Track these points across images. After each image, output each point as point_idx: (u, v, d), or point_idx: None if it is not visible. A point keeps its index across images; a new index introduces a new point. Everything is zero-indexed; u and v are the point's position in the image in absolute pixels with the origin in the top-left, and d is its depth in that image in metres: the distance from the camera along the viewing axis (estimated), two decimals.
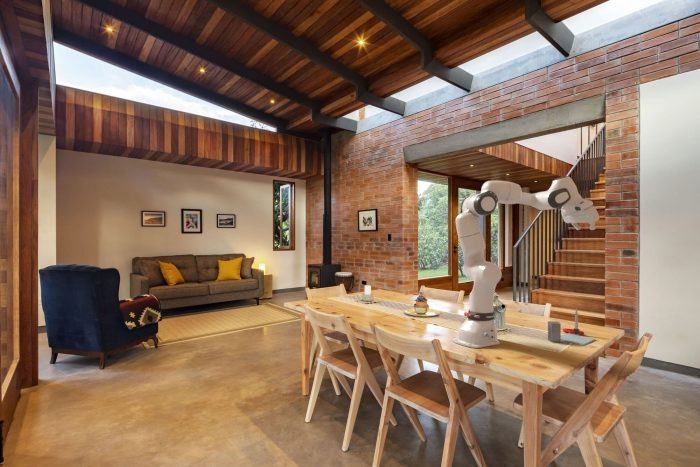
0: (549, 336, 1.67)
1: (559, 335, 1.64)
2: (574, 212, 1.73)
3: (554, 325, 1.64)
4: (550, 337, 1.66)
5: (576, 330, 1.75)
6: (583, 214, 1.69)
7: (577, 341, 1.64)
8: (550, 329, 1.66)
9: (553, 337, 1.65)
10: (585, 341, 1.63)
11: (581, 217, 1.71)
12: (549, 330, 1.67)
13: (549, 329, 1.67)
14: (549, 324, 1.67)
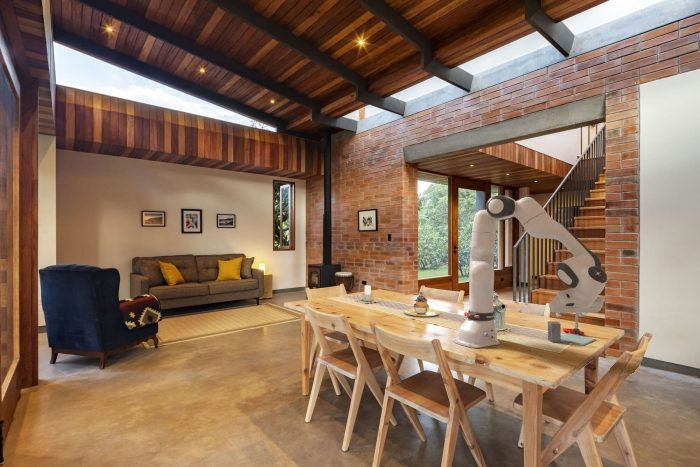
0: (549, 336, 1.67)
1: (559, 335, 1.64)
2: None
3: (554, 326, 1.64)
4: (550, 337, 1.66)
5: (576, 330, 1.75)
6: None
7: (577, 341, 1.64)
8: (550, 329, 1.66)
9: (553, 337, 1.65)
10: (585, 341, 1.63)
11: None
12: (549, 330, 1.67)
13: (549, 329, 1.67)
14: (549, 324, 1.67)
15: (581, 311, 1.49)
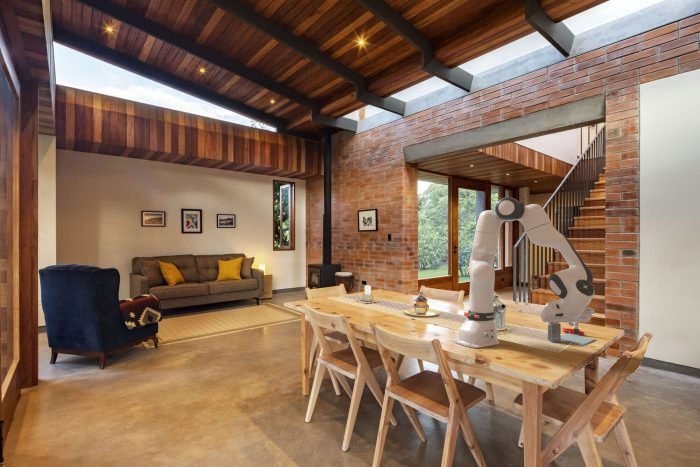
0: (549, 336, 1.67)
1: (559, 335, 1.64)
2: None
3: (554, 326, 1.64)
4: (550, 337, 1.66)
5: (576, 330, 1.75)
6: None
7: (577, 341, 1.64)
8: (550, 329, 1.66)
9: (553, 337, 1.65)
10: (585, 341, 1.63)
11: None
12: (549, 330, 1.67)
13: (549, 329, 1.67)
14: None
15: (571, 321, 1.55)
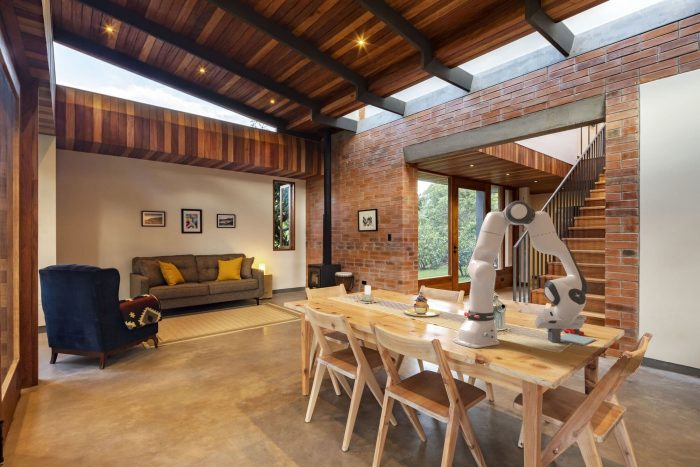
0: (549, 336, 1.67)
1: (559, 335, 1.64)
2: None
3: None
4: (550, 337, 1.66)
5: (576, 330, 1.75)
6: None
7: (577, 341, 1.64)
8: None
9: (553, 337, 1.65)
10: (585, 341, 1.63)
11: None
12: None
13: None
14: None
15: (564, 327, 1.61)
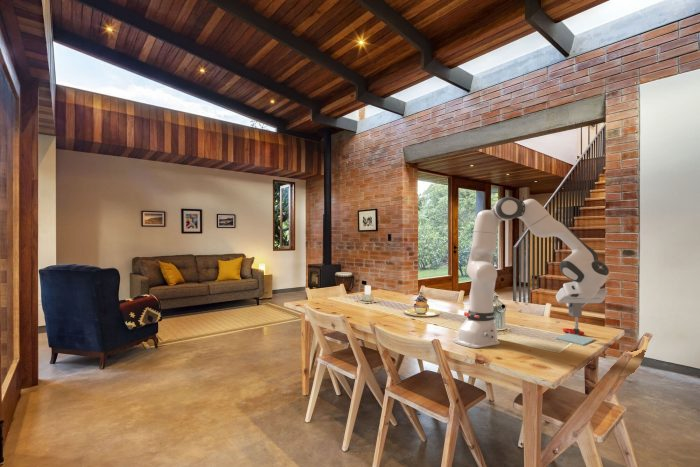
0: (570, 311, 1.68)
1: (580, 310, 1.66)
2: None
3: None
4: (571, 312, 1.67)
5: (576, 330, 1.75)
6: None
7: (577, 341, 1.64)
8: None
9: (574, 312, 1.66)
10: (585, 341, 1.63)
11: None
12: None
13: None
14: None
15: (585, 302, 1.63)
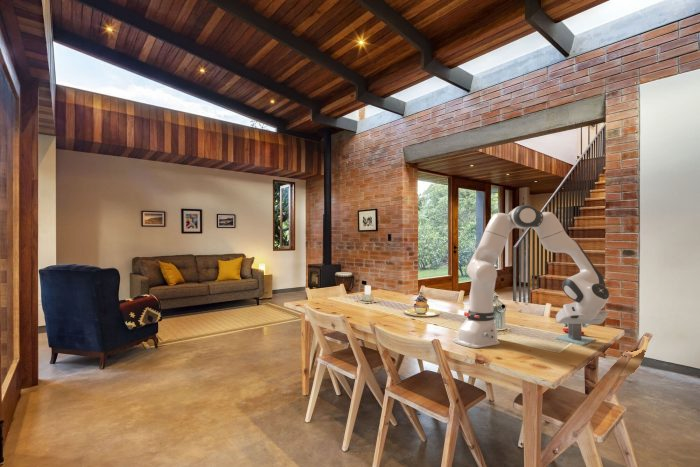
0: (570, 334, 1.68)
1: (580, 333, 1.66)
2: None
3: None
4: (571, 335, 1.67)
5: None
6: None
7: (577, 341, 1.64)
8: (571, 327, 1.67)
9: (574, 335, 1.66)
10: (585, 341, 1.63)
11: None
12: (569, 328, 1.69)
13: (570, 327, 1.68)
14: None
15: (585, 323, 1.63)
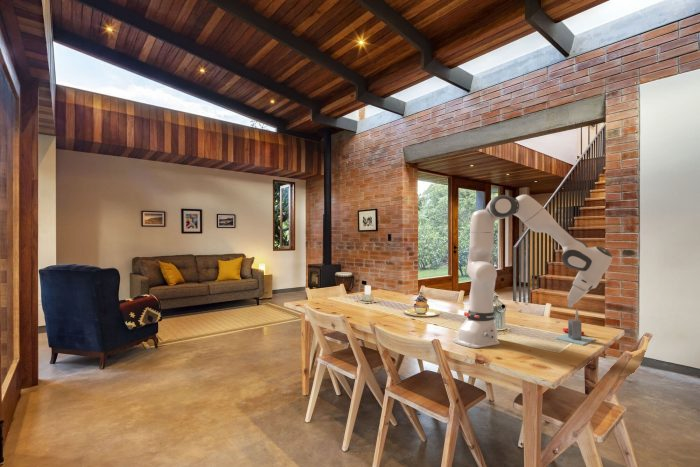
0: (570, 334, 1.68)
1: (580, 333, 1.66)
2: None
3: (574, 323, 1.66)
4: (571, 335, 1.67)
5: None
6: None
7: (577, 341, 1.64)
8: (571, 327, 1.67)
9: (574, 335, 1.66)
10: (585, 341, 1.63)
11: None
12: (569, 328, 1.69)
13: (570, 327, 1.68)
14: (570, 322, 1.68)
15: (584, 294, 1.62)
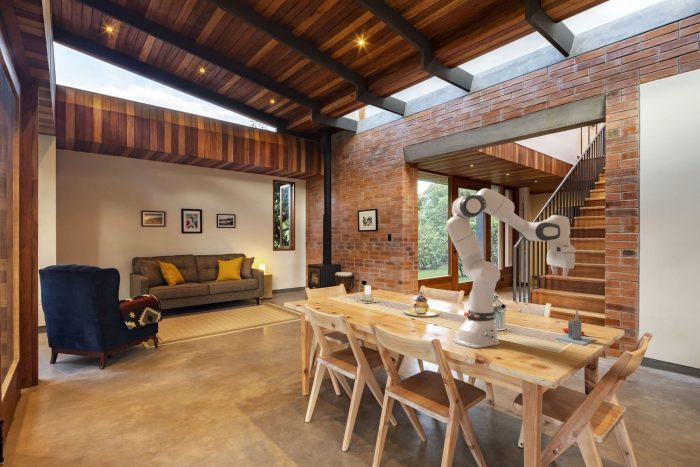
0: (570, 334, 1.68)
1: (580, 333, 1.66)
2: (555, 253, 1.68)
3: (574, 323, 1.66)
4: (571, 335, 1.67)
5: None
6: (561, 257, 1.65)
7: (577, 341, 1.64)
8: (571, 327, 1.67)
9: (574, 335, 1.66)
10: (585, 341, 1.63)
11: (559, 260, 1.66)
12: (569, 328, 1.69)
13: (570, 327, 1.68)
14: (570, 322, 1.68)
15: None
